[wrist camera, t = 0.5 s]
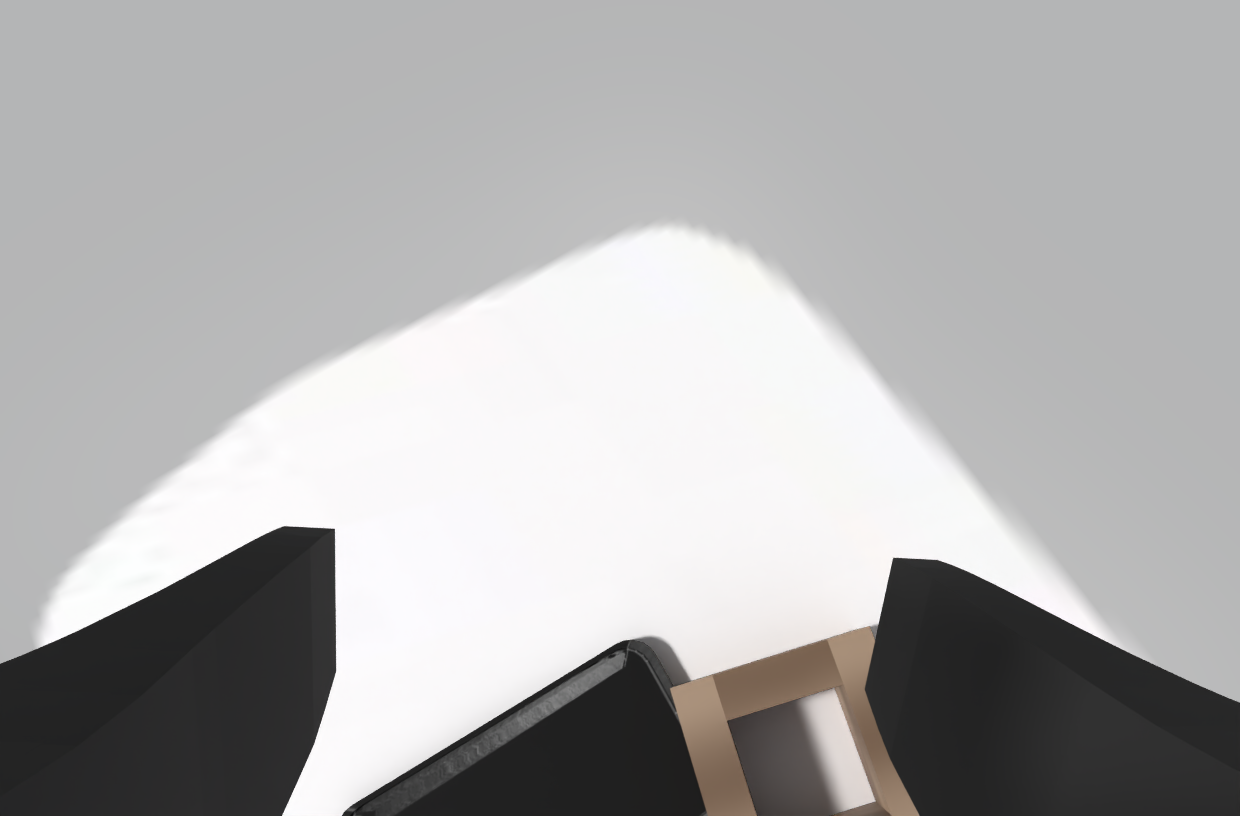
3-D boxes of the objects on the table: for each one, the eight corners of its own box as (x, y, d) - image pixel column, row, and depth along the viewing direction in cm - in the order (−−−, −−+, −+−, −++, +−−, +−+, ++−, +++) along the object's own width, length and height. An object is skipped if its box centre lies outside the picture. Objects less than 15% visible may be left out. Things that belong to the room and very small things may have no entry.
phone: (326, 820, 33) (639, 629, 34) (339, 815, 34) (642, 630, 35) (406, 1021, 31) (742, 810, 31) (417, 1009, 32) (741, 805, 32)
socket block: (935, 835, 31) (957, 852, 28) (737, 896, 31) (738, 919, 28) (856, 629, 34) (869, 626, 31) (674, 686, 34) (670, 688, 31)
